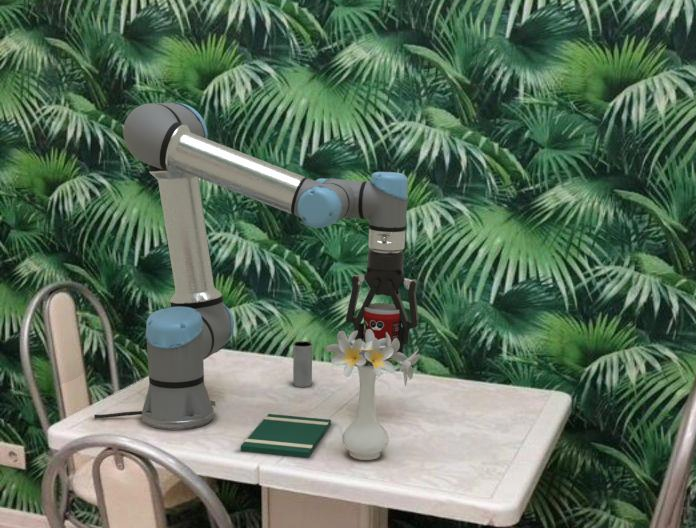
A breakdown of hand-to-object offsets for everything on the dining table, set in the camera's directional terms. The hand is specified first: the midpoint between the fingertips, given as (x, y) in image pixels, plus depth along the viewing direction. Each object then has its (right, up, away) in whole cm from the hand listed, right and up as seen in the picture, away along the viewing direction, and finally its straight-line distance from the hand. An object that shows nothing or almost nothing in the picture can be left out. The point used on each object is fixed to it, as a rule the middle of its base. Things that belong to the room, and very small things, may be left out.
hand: (380, 356), depth 206 cm
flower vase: (-3, -21, -14) cm, 26 cm away
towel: (-19, -18, -6) cm, 27 cm away
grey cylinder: (-18, -4, +28) cm, 33 cm away
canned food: (0, 0, 0) cm, 0 cm away
